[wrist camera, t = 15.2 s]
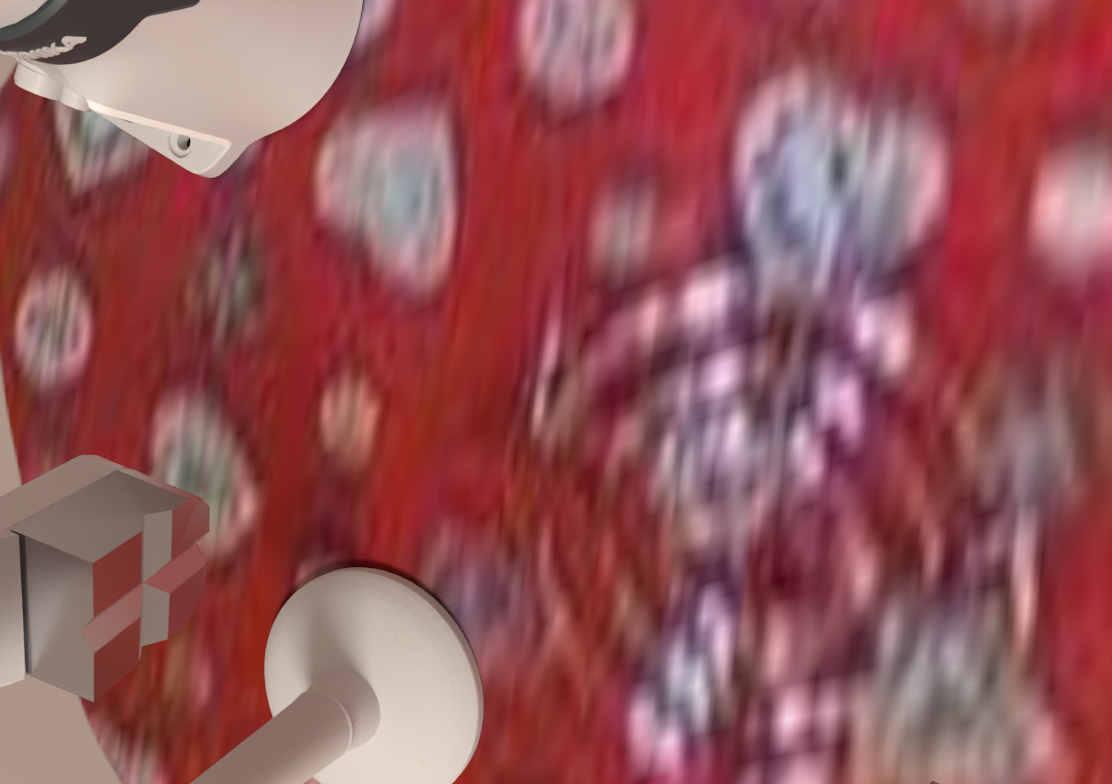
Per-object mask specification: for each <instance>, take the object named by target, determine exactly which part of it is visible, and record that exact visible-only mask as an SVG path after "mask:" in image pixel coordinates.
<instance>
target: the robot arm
mask: <svg viewBox="0 0 1112 784" xmlns="http://www.w3.org/2000/svg"><path fill="white" fill-rule="evenodd" d="M362 4H363V0H0V54H4V55H7V56H11V57H15V58H16V60H17V61H18V65H17V69H16V72H15V76H14V80H15V84H16V85H18V86H19V87H21V88H23V89H25V90H27V91H30V92H32V93H35V94H37V95H40V96H43V97H46V98H49V99H53V100H58V101H60V102H62V103H64V104H65V105H68V106H70V107H72V108H75V109H78V110H81V111H85V112H90V111H91V110H92V111H94V112H95V113H97V114H99V115H100V116H102V117H103V118H105V119H107V120H108V121H110V122H111V123H113V124H115V125H116V126H118V127H119V128H121V129H123V130H124V131H126V132H127V133H129V134H131V135H132V136H134V137H135V138H137V139H139V140H140V141H142V142H143V143H145V144H147V145H148V146H150V147H151V148H153V149H155V150H156V151H158V152H159V153H161V154H163V155H164V156H166V157H167V158H169V159H171V160H172V161H174V162H175V163H177V164H179V165H180V166H182V167H183V168H185V169H187V170H188V171H190V172H192V173H195V174H198V175H201V176H204V177H207V178H213V177H216V176H218V175H220V174H222V173H223V172H224V171H225V170H227V169H228V168H229V167H230V166H231V165H232V164H233V163H234V161H235V160H236V159H237V158H238V157H239V156H240V155H241V154H242V152H243V151H244V150H245V149H246V148H247V146H248V145H250V144H251V143H253V142H254V141H256V140H258V139H260V138H262V137H264V136H266V135H269V134H271V133H273V132H276V131H278V130H280V129H282V128H284V127H286V126H288V125H290V124H291V123H293V122H294V121H296V120H297V119H299V118H300V117H301V116H303V115H304V114H305V113H306V112H308V111H309V110H310V109H311V108H312V107H313V106H314V105H315V104H316V103H317V102H318V101H319V100H320V99H321V98H322V97H323V95H324V94H325V93H326V92H327V91H328V89H329V88H330V86H331V85H332V84H333V82H334V81H335V79H336V77H337V76H338V74H339V73H340V71H341V69H342V67H343V65H344V63H345V61H346V59H347V57H348V55H349V52H350V50H351V47H352V45H353V42H354V39H355V36H356V33H357V29H358V25H359V21H360V16H361V11H362ZM189 138H190V146H189V148H188V146H187V142H188V139H189ZM208 532H209V506H208V505H207V504H206V503H205V502H204V501H203V500H202V499H201V498H200V497H198V496H195V495H193V494H190V493H188V492H186V491H183V490H181V489H178V488H176V487H174V486H171V485H169V484H166V483H164V482H162V481H159V480H157V479H154V478H152V477H149V476H147V475H145V474H142V473H140V472H137V471H135V470H133V469H128V468H126V467H124V466H121V465H119V464H116V463H114V462H112V461H109V460H107V459H104V458H102V457H99V456H97V455H80V456H78V457H76V458H74V459H72V460H71V461H69V462H67V463H65V464H63V465H61V466H59V467H57V468H55V469H53V470H51V471H49V472H47V473H45V474H43V475H42V476H40V477H38V478H36V479H34V480H32V481H30V482H28V483H26V484H24V485H22V486H20V487H18V488H16V489H15V490H13V491H11V492H9V493H7V494H5V495H3V496H1V497H0V688H1V687H3V686H6V685H9V684H11V683H14V682H17V681H20V680H23V679H25V678H26V674H27V675H30V676H32V677H35V678H37V679H39V680H42V681H44V682H46V683H49V684H51V685H54V686H56V687H59V688H61V689H63V690H66V691H68V692H71V693H73V694H76V695H78V696H80V697H83V698H85V699H88V700H90V701H92V702H94V701H96V700H97V699H98V698H99V697H100V696H101V695H103V694H104V693H105V692H106V691H107V690H109V689H110V688H111V687H112V686H113V685H114V684H116V683H117V682H118V681H119V680H120V679H121V678H123V677H124V676H125V675H126V674H127V673H129V672H130V671H131V670H132V669H133V668H134V667H136V666H137V665H138V664H139V661H140V654H141V647H142V646H144V645H148V644H151V643H155V642H159V641H162V640H166V639H168V638H169V637H171V636H172V635H173V634H174V633H175V632H176V631H177V630H178V629H179V628H181V627H182V626H183V625H184V624H185V623H186V621H187V620H188V618H189V617H190V615H191V614H192V612H193V611H194V609H195V607H196V606H197V604H198V603H199V601H200V599H201V595H202V592H203V589H204V586H205V583H206V574H207V562H206V560H205V558H204V556H203V554H202V552H201V550H200V548H199V546H198V544H197V542H198V541H199V540H200V539H201V538H202V537H203V536H205V535H206V534H207V533H208ZM930 784H939V783H936V782H933V781H932V782H931V783H930Z"/></svg>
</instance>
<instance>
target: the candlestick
mask: <svg viewBox="0 0 1112 784" xmlns="http://www.w3.org/2000/svg"><path fill="white" fill-rule="evenodd" d="M265 684H266V691H267V697H268V701H269V705H270V708H271V712H272V715H273V718H272V719H271V720H270V721H269V722H267V723H266V724H265V725H264V726H262V727H261V728H260V729H259V730H257V731H256V732H255V733H253V734H252V735H251V736H250V737H248V738H247V739H246V740H245V741H243V742H242V743H241V744H240V745H238V746H237V747H236V748H235V749H233V750H232V751H231V752H229V753H228V754H227V755H226V756H224V757H223V758H222V759H221V760H219V761H218V762H217V763H216V764H214V765H213V766H212V767H210V768H209V769H208V770H207V771H205V772H204V773H203V774H202V775H200V776H199V777H198V778H197V779H195V780H194V781H193V782H192V783H190V784H303V783H305V782H306V781H307V780H309V779H310V778H311V777H314V778H315V779H316V780H317V781H318V782H320V783H321V784H452V783H453V782H454V781H455V780H456V779H457V778H458V776H459V775H460V774H461V773H462V772H463V770H464V769H465V768H466V766H467V765H468V763H469V761H470V760H471V758H472V756H473V754H474V752H475V749H476V747H477V744H478V741H479V737H480V733H481V728H482V721H483V691H482V684H481V679H480V674H479V670H478V667H477V664H476V661H475V658H474V655H473V653H472V651H471V648H470V646H469V644H468V642H467V640H466V638H465V636H464V635H463V633H462V631H461V630H460V628H459V627H458V625H457V624H456V622H455V621H454V620H453V618H452V617H451V616H450V614H449V613H448V612H447V611H446V610H445V609H444V608H443V607H442V606H441V605H440V604H439V603H438V602H437V601H436V600H435V599H434V598H433V597H432V596H431V595H429V594H428V593H427V592H426V591H424V590H423V589H422V588H420V587H419V586H417V585H415V584H414V583H412V582H410V581H409V580H407V579H405V578H403V577H400V576H398V575H396V574H393V573H390V572H387V571H383V570H379V569H374V568H364V567H352V568H344V569H339V570H335V571H332V572H329V573H326V574H324V575H322V576H319V577H317V578H315V579H313V580H312V581H310V582H308V583H307V584H305V585H304V586H302V587H301V588H300V589H299V590H298V591H296V592H295V593H294V594H293V595H292V596H291V597H290V599H289V600H288V601H287V602H286V603H285V605H284V606H283V607H282V609H281V610H280V612H279V614H278V615H277V617H276V619H275V621H274V623H273V626H272V629H271V631H270V634H269V638H268V642H267V647H266V654H265Z"/></svg>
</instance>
